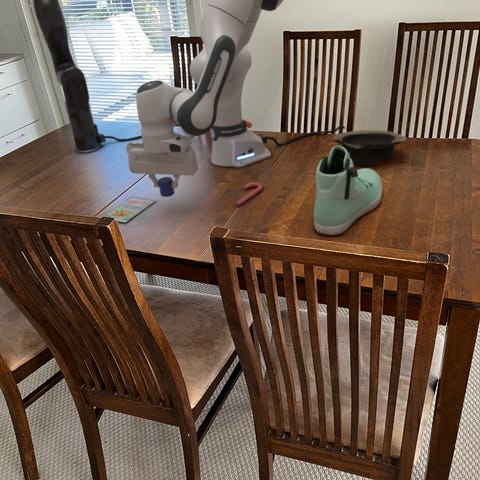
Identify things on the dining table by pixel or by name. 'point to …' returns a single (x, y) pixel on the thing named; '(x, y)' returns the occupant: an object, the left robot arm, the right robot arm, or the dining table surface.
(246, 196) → the candy cane
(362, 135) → the stone bowl
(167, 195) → the can
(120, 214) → the baking ingredient package
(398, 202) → the dining table surface
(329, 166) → the sneaker
